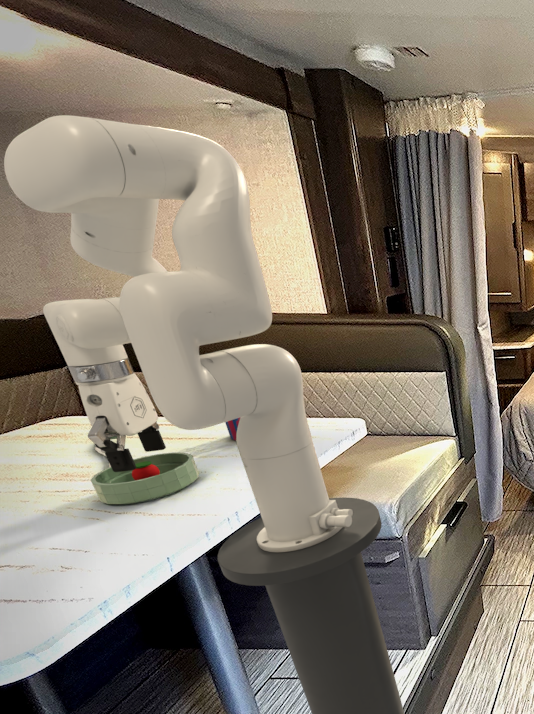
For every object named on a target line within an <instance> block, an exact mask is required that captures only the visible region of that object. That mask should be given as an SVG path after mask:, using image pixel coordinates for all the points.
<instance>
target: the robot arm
mask: <svg viewBox="0 0 534 714" xmlns="http://www.w3.org/2000/svg"><path fill="white" fill-rule="evenodd" d="M3 167H4V168H3V169H4V174H5V178H6V181H7V183H8V185H9V188H10V189H11V191H12V192H13V193H14V195H16V197H17V198H18V199H19V200H20V201H21V202H22V204H24V205H26V206H27V207H29V208H31V209H32V210H35V211H38V212H41V213H48V214H49V213H50V214H70V217H71V218H70V221H71V222H70V235H69V238H70V239H69V241H70V246H71V247H72V249H73V251H74V252H75V253H76V255H78V256H79V257H80V258H82V259H83V260H84V261H87V262H88V263H90V264H91V265H93V266H97V267H99V268H101V269H104V270H107V271H110V272H114V273H118V274H122V275H126V276H129V277H132V278H130V279H129V280H126V282H125V283H124V284H123V285H122V288H121V290H120V294H119V296H115V297H106V298H105V297H104V298H99V299H95V298H80V299H78V298H77V299H64V300H55V301H51V302H47V303H45V305H43V308H42V313H43V315H44V317H45V320H46V322H47V324H48V326H49V329H50V331H51V333H52V335H53V337H54V339H55V341H56V343H57V345H58V347H59V350H60V352H61V354H62V356H63V358H64V361H65V363H66V366H67V369H68V370H69V371H70V375H71V376H72V378H73V380H74V383H75V385H77V386H78V391H79V396H80V399H81V402H82V405H83V408H84V411H85V414H86V416H87V419H88V421H89V424H90V426H91V428H90V429H89V432H88V433H87V438H88V439H89V440H90V441H91V442H92V443H93V444H94V446H95V447H97V448H99V449H101V452H102V453H105V455H106V456H105V457H106V459H107V461H108V464H109V463H110V466H111V468H112V470H113V471H114V472H122V471H130V470H134V469H136V465H135V462H134V460H133V459H134V458H133V455H132V453H131V451H130V448H126V437H132V436H135V435H137V436H138V438H139V440H140V443H141V445H142V447H143V450H144V452H146V453H149V452H156V451H163V450H165V449H166V448H167V447H166V443H165V442H164V440H163V439H164V438H163V437H162V434H161V433H160V430H159V429H160V425H159V424H158V422H157V421H158V420H159V415H158V413H157V410H156V408H157V409H158V411H159V412H160V414H161V415H162V416H163V418H164V419H165V420H166V421H167V422H169V423H170V424H172V425H173V426H175V427H177V428H179V429H182V430H186V431H195V430H203V429H207V428H210V427H215V426H217V425H220V424H225V422H227V421H230V420H233V419H237V418H240V417H241V418H240V421H239V424H238V428H237V434H236V440H235V442H236V447H237V451H238V453H239V456H240V459H241V462H242V466H243V467H244V471H245V474H246V476H247V479H248V482H249V486H250V488H251V492H252V494H253V497H254V500H255V503H256V505H257V508H258V511H259V514H260V518H261V517H262V520H263V523H264V526H265V527H264V528H263V529H262V530H261V531H260V532H259V534H258V536H257V543H258V546H259V547H260V548H261V549H263V550H264V551H268V552H277V553H278V552H290V551H296V550H300V549H304V548H307V547H310V546H313V545H316V544H318V543H321V542H323V541H325V540H327V539H328V538H330V537H332V536H333V535H335V534H336V533H337V532H339V531H340V530H341V529H342V527H349V526H350V525H351V524H352V517H351V516H352V515H353V511H352V510H351V509H343V510H340V509H339V508H338V507H337V503H336V500H329V498H330V497H329V494H328V490H327V487H326V483H325V480H324V476H323V472H322V468H321V466H320V462H319V458H318V455H317V452H316V448H315V444H314V441H313V437H312V433H311V429H310V426H309V423H308V418H307V414H306V413H307V412H306V407H305V397H304V379H303V373H302V370H301V367H300V365H299V363H298V361H297V359H296V358H295V356H293V355H292V354H291V353H290V352H289V351H287V349H285V348H283V347H280V346H277V345H275V344H267V343H260V344H259V343H258V344H257V343H255V344H247V345H242V346H237V347H231V348H226V349H222V350H221V349H220V350H217V351H213V352H209V353H205V354H200V346H205V345H211V344H215V343H222V342H228V341H232V340H237V339H238V340H239V339H242V338H247V337H251V336H252V337H253V336H256V335H258V334H261V333H263V332H265V331H267V330H268V329H269V328H270V327H271V325H272V321H273V310H272V305H271V301H270V297H269V293H268V288H267V285H266V281H265V278H264V273H263V270H262V266H261V263H260V260H259V256H258V252H257V248H256V244H255V242H254V237H253V234H252V233H253V232H252V223H251V202H250V201H251V200H250V193H249V187H248V182H247V179H246V177H245V175H244V172H243V170H242V168H241V166H240V165H239V163H238V161H237V160H236V159H235V157H234V156H233V155H232V154H231V153H230V152H229V151H228V150H227V149H226V148H225V147H224V146H223V145H221V144H219V143H218V142H216V141H215V140H212V139H209V138H207V137H204V136H201V135H198V134H195V133H191V132H188V131H182V130H178V129H172V128H165V127H160V126H153V125H147V124H146V125H144V124H137V123H127V122H122V121H115V120H110V119H109V120H108V119H103V118H102V119H101V118H96V117H88V116H79V115H70V114H69V115H68V114H65V115H64V114H63V115H62V114H60V115H53V116H50V117H47V118H45V119H44V120H41V121H40V122H38V123H36V124H35V125H33V126H31V127H30V128H27V129H26V130H24V131H23V132H21V133H19V134H18V135H17V136H15V137H14V138H13V139H12V141H10V143H9V144H8V146H7V148H6V150H5V154H4V159H3ZM160 200H174V201H175V200H177V201H178V200H179V201H184V202H183V203H182V204H181V205H180V207H179V209H178V210H177V213H176V215H175V217H174V220H173V223H172V226H171V238H172V242H173V244H174V248H175V251H176V253H177V256H178V259H179V264H180V269H179V270H175V271H173V270H172V271H168V270H167V269H166V267H164V266H163V265H162V264H161V263H160V261H158V260H157V259H156V258H154V257H153V252H154V246H155V244H154V243H155V237H156V228H157V222H158V221H157V220H158V215H159V214H158V213H159V205H160V204H159V203H160ZM125 344H131V346H132V348H133V351H134V354H135V356H136V359H137V361H138V364H139V367H140V369H141V372H142V374H143V377H144V380H145V382H146V385H147V388H148V390H149V392H150V395H151V398H152V399H153V402H154V403H155V404H153V402H152V400H151V398H150V396H149V394H148V392H147V390H146V388H145V386H144V385H143V383H142V381H141V380H140V378H139V377H138V376H137V374H136V373H135V371H134V368H133V366H132V364H131V362H130V358H129V357H128V354H127V352H126V349H125V347H124V345H125ZM113 440H116V442H115V441H113Z"/></svg>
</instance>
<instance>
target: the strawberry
mask: <svg viewBox="0 0 534 714" xmlns="http://www.w3.org/2000/svg"><path fill="white" fill-rule="evenodd" d="M135 465H136V469H134V470H133V471H132V477H133V479H134V480H140V479H145V478H149V477H152V476H156V475H159V474H160V471H159V469H158V467H156V466H155V465H153V464H152V463H151V461H145V462H140V463H137V464H135Z"/></svg>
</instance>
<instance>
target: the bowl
mask: <svg viewBox="0 0 534 714" xmlns="http://www.w3.org/2000/svg"><path fill="white" fill-rule="evenodd" d="M133 460H134V462H135V464H137V463H140V462H145V461H151V463H152V464H153V465H155V466H156V467H158V469H159V471H160V474H159V475H156V476H152V477H149V478H145V479H140V480H134V479H133V477H132V471H133V470H130V471H122V472H114V471H113V470H112V468H111V467H109V466H108V467H107V468H104V469H102V470H100V471H99V472H98V473H95V474H94V475H93V476H92V477H91V478H90V482H91V485H92V486H93V489H94V491H95V493H96V495H97V497H98V499H99V500H100V502H101V503H104V504H107V505H132V504H138V503H143V502H149V501H152V500H157V499H160V498H163V497H166V496H169V495H172V494H174V493H177V492H179V491H181V490H183V489H184V488H186V487H188V486H190V485H191V484H193V483H194V482H195V481H197V480H198V479H199V476H200V472H199V469H198V466H197V464H196V461H195V459H194V456H193V455H192V454H191V453H187V452H164V453H163V452H162V453H157V454H150V455H146V456H145V455H144V456H141V457H137V458H133Z"/></svg>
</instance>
